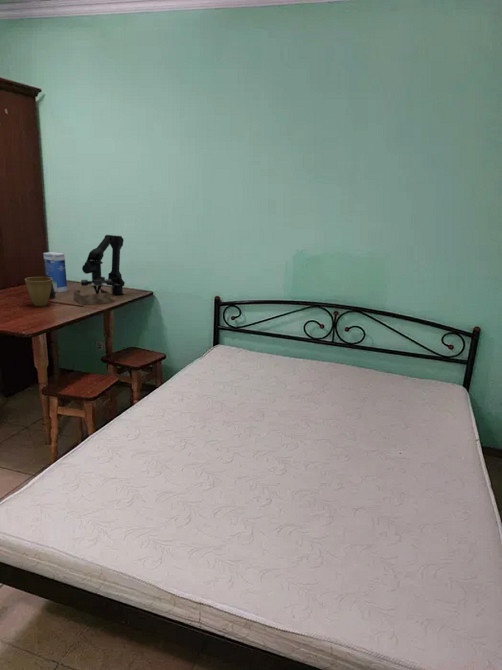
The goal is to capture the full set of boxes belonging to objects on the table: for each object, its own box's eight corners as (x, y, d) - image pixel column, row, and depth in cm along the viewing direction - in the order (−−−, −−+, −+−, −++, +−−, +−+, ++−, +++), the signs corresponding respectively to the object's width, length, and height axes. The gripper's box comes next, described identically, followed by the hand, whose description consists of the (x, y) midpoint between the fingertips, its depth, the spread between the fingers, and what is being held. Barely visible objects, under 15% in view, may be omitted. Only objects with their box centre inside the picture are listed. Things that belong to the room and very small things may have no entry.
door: (98, 296, 309) (97, 288, 308) (100, 296, 310) (99, 288, 308) (100, 301, 298) (99, 292, 297) (101, 301, 299) (101, 292, 297)
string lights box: (67, 291, 323) (65, 253, 315) (58, 292, 317) (55, 254, 309) (55, 288, 330) (52, 251, 322) (46, 290, 323) (42, 252, 316)
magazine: (58, 296, 299) (46, 275, 295) (40, 304, 301) (27, 283, 296) (60, 295, 303) (48, 274, 299) (42, 303, 304) (30, 282, 300)
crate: (101, 297, 311) (101, 288, 309) (110, 302, 298) (110, 292, 297) (74, 299, 300) (73, 290, 298) (82, 305, 288) (81, 295, 286)
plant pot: (28, 308, 275) (25, 281, 270) (27, 302, 288) (24, 277, 283) (55, 306, 282) (53, 280, 277) (53, 301, 294) (50, 276, 290)
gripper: (81, 273, 283) (82, 299, 288) (113, 273, 290) (114, 298, 295) (80, 270, 293) (81, 295, 297) (111, 270, 300) (111, 294, 304)
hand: (97, 295), depth 298 cm, fingers closed
